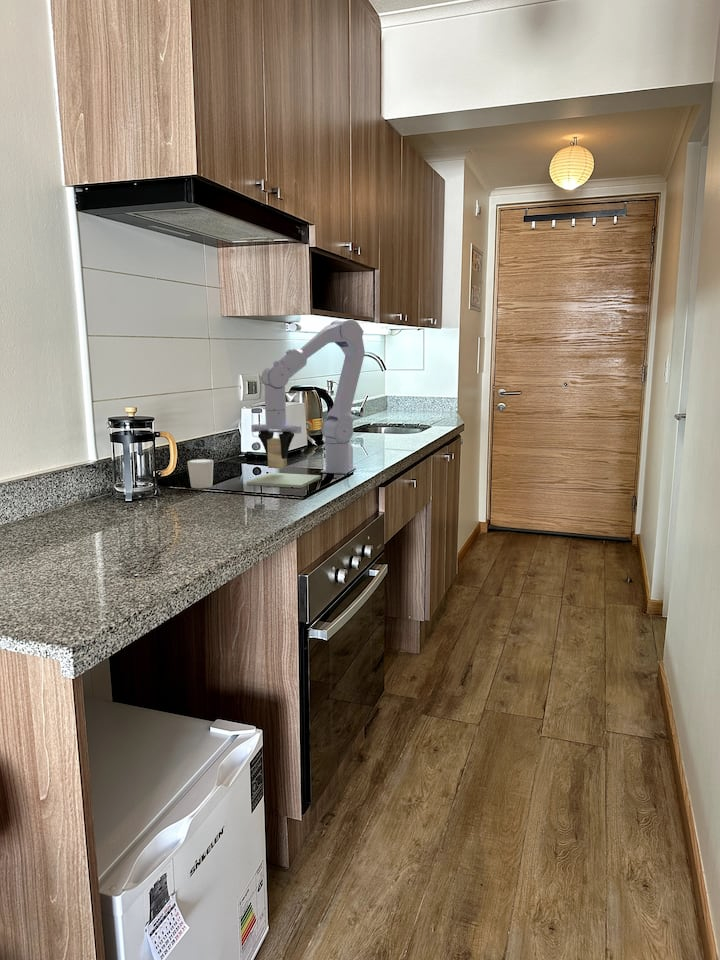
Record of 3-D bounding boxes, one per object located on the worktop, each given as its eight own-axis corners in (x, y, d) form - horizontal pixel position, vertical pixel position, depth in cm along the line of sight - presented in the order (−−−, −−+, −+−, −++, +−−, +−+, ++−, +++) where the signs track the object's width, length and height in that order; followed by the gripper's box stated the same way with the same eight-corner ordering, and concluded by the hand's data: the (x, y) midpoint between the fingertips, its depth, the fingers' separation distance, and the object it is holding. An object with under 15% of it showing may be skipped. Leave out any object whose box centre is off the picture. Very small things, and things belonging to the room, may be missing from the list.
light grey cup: (184, 488, 179) (182, 462, 178) (196, 483, 186) (194, 458, 185) (207, 489, 178) (206, 463, 176) (219, 484, 184) (217, 458, 183)
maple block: (274, 465, 194) (273, 437, 192) (287, 466, 193) (286, 438, 191) (268, 467, 190) (267, 439, 189) (281, 468, 189) (280, 440, 187)
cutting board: (269, 475, 196) (269, 472, 196) (320, 478, 191) (320, 475, 191) (247, 484, 183) (246, 481, 183) (301, 488, 178) (301, 485, 178)
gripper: (245, 410, 187) (247, 458, 189) (293, 411, 182) (294, 461, 185) (257, 408, 193) (259, 455, 196) (303, 409, 189) (304, 457, 191)
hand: (277, 457), depth 191 cm, fingers closed on maple block, 4 cm apart
